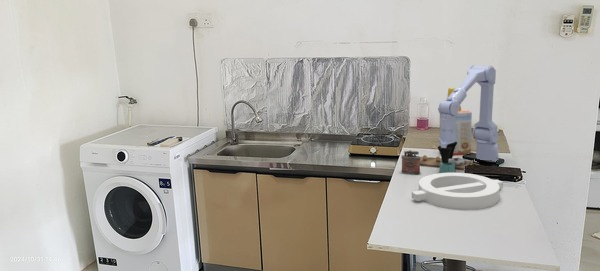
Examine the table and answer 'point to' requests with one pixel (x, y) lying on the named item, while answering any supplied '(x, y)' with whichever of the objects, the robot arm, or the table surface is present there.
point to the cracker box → (462, 133)
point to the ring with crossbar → (458, 190)
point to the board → (436, 161)
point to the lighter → (410, 163)
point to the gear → (447, 167)
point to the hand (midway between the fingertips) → (447, 160)
